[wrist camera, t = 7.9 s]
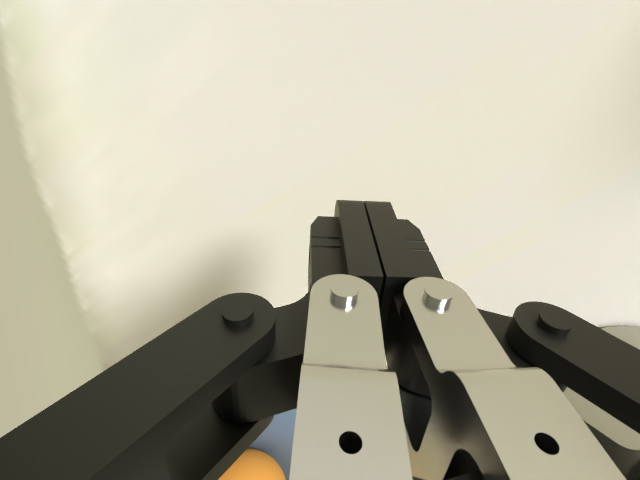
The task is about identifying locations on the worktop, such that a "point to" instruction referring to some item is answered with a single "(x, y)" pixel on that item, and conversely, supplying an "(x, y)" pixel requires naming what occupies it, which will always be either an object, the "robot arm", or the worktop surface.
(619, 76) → the worktop surface
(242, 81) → the worktop surface
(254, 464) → the ball
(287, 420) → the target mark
